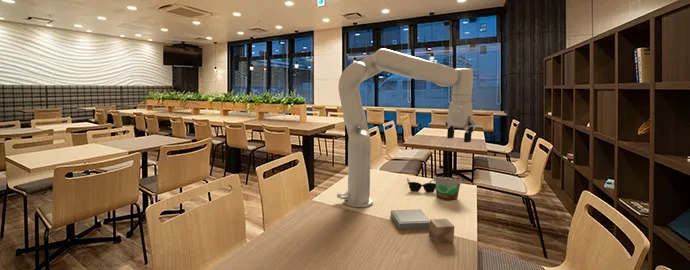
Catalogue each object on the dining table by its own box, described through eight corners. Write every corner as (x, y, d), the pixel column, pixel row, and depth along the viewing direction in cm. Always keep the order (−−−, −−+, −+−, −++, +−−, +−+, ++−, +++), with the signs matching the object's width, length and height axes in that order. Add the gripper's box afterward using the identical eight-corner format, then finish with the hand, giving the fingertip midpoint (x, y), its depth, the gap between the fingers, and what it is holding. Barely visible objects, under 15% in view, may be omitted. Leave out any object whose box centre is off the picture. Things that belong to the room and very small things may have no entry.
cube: (436, 244, 107) (437, 227, 106) (429, 235, 113) (429, 219, 112) (453, 243, 108) (454, 226, 107) (445, 234, 114) (446, 218, 113)
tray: (399, 230, 117) (399, 223, 116) (390, 216, 129) (390, 209, 128) (431, 228, 119) (432, 221, 118) (419, 215, 130) (420, 208, 130)
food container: (430, 198, 148) (431, 177, 147) (433, 194, 154) (434, 174, 152) (458, 204, 143) (460, 181, 141) (460, 199, 148) (462, 178, 146)
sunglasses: (407, 192, 158) (408, 181, 158) (405, 183, 174) (406, 174, 174) (436, 193, 157) (437, 183, 156) (432, 185, 172) (432, 175, 172)
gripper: (440, 98, 140) (437, 137, 143) (470, 100, 125) (467, 144, 128) (453, 97, 143) (450, 136, 146) (485, 100, 128) (481, 143, 131)
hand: (458, 140), depth 137 cm, fingers open, 9 cm apart
